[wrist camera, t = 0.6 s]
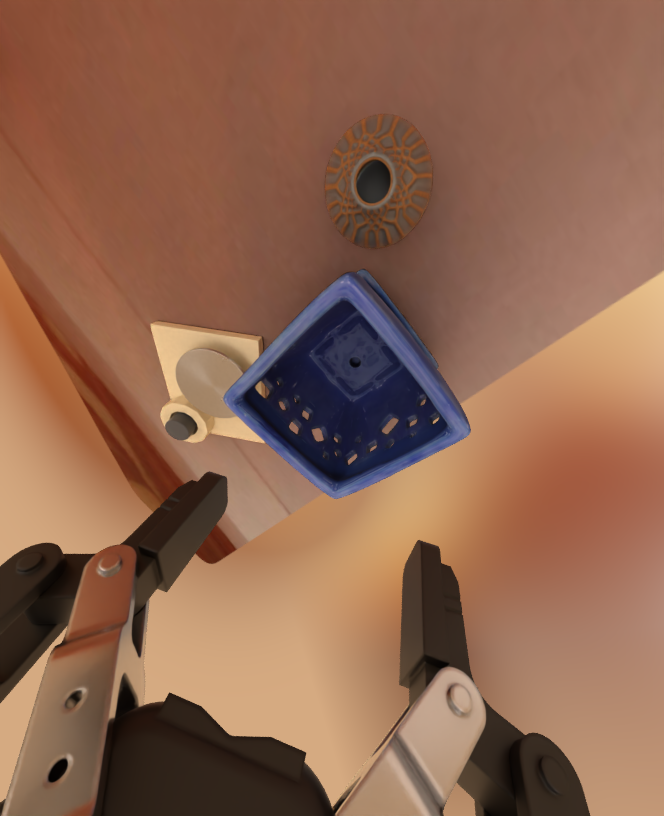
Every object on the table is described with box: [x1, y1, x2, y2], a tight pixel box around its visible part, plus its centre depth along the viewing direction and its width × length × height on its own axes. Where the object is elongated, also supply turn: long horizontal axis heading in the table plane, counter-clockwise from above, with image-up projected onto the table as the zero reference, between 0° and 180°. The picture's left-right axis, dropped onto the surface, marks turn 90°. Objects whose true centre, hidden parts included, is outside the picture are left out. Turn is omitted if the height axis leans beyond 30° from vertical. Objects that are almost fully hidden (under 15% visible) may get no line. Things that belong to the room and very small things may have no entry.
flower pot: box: [223, 269, 471, 499], centre depth 25 cm, size 13×13×12 cm
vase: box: [325, 114, 433, 249], centre depth 19 cm, size 7×7×9 cm
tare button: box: [165, 412, 197, 440], centre depth 35 cm, size 3×3×2 cm
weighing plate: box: [175, 348, 244, 418], centre depth 31 cm, size 8×8×1 cm
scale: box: [150, 321, 266, 443], centre depth 34 cm, size 14×12×3 cm
